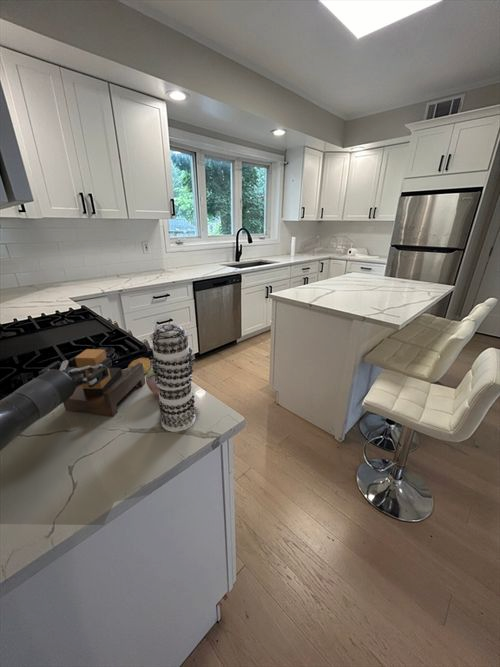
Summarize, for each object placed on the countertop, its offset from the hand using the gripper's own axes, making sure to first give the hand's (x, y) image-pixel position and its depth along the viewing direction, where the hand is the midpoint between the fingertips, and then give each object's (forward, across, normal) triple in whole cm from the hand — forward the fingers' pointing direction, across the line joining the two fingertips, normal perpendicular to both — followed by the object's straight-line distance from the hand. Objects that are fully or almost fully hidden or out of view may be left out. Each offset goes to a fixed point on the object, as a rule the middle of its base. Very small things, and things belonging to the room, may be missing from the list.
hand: (95, 359), depth 73 cm
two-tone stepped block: (+2, 0, +9) cm, 9 cm away
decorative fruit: (+6, -15, +13) cm, 21 cm away
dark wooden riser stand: (+2, 0, +13) cm, 13 cm away
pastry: (+17, -1, +13) cm, 21 cm away
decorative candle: (-4, -24, +13) cm, 28 cm away
